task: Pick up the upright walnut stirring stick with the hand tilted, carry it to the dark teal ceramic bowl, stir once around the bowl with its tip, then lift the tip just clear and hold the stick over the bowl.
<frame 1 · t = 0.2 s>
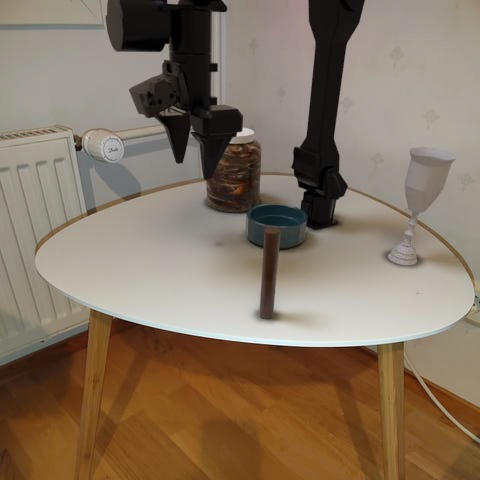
hand: (192, 171, 65), 14 cm above the table, tool pointing down, fingers open, 9 cm apart
jar: (232, 203, 94), on the table
bowl: (275, 237, 80), on the table
chalice: (402, 259, 75), on the table
stick: (266, 314, 60), on the table
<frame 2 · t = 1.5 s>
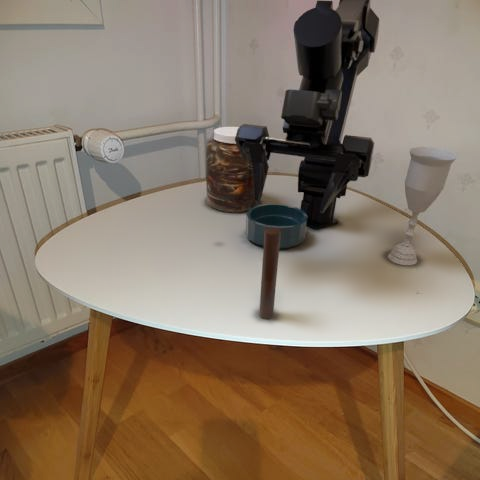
hand: (288, 206, 58), 13 cm above the table, tool tilted 45°, fingers open, 9 cm apart
nothing on the table moved.
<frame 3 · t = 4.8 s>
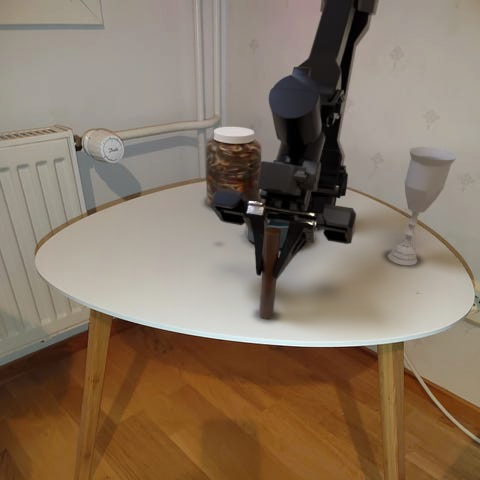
hand: (266, 276, 54), 7 cm above the table, tool tilted 45°, fingers closed on stick, 2 cm apart
stick: (266, 314, 60), on the table, touching gripper
everything else where it was.
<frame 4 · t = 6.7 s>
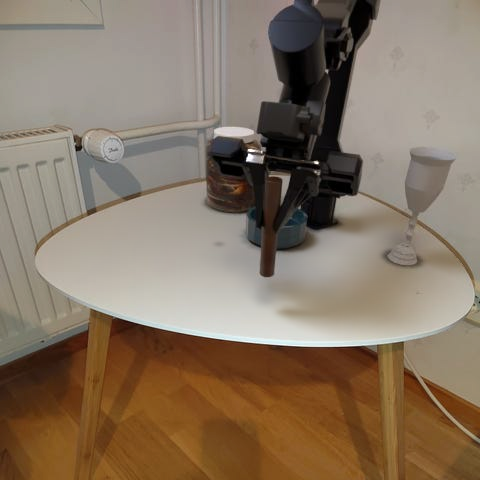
hand: (267, 230, 52), 13 cm above the table, tool tilted 45°, fingers closed on stick
stick: (266, 273, 57), point 6 cm above the table, touching gripper
everything else where it was.
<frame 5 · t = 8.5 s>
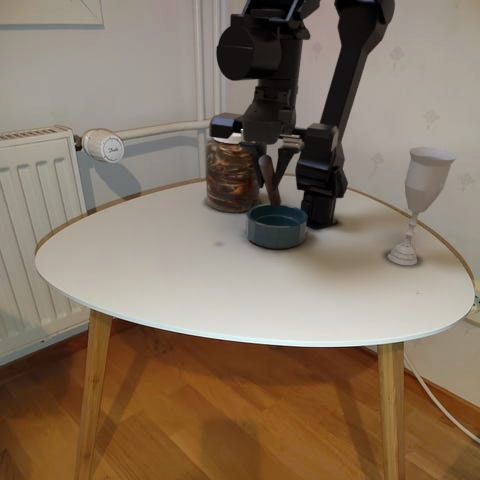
hand: (268, 188, 68), 12 cm above the table, tool pointing down, fingers closed on stick
stick: (275, 202, 75), point 7 cm above the table, tilted 43°, touching gripper
everything else where it was.
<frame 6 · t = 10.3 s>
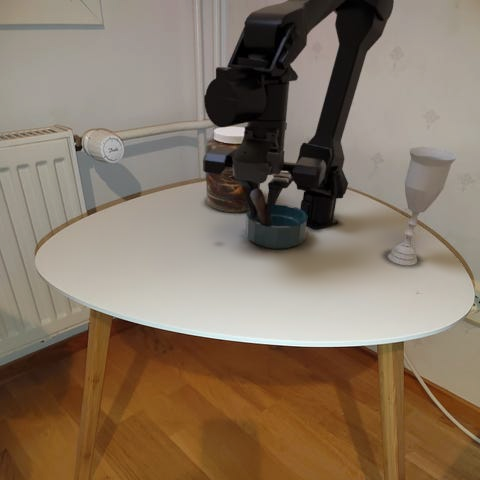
hand: (260, 217, 71), 7 cm above the table, tool pointing down, fingers closed on stick
stick: (269, 226, 78), point 3 cm above the table, tilted 45°, touching gripper
everything else where it was.
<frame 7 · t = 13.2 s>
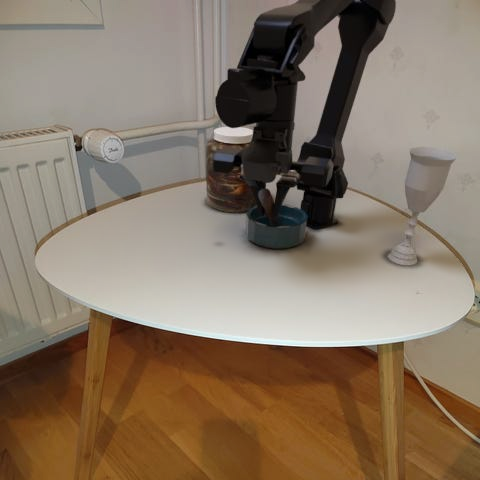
hand: (268, 216, 72), 6 cm above the table, tool pointing down, fingers closed on stick
stick: (276, 224, 79), point 3 cm above the table, tilted 47°, touching gripper
everything else where it was.
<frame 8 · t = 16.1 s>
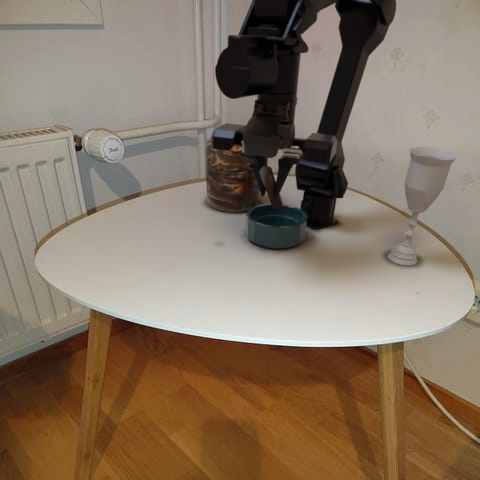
hand: (269, 196, 70), 10 cm above the table, tool pointing down, fingers closed on stick
stick: (277, 206, 77), point 6 cm above the table, tilted 47°, touching gripper
everything else where it was.
at the end: the gripper is holding stick; stick inside the target area on the bowl (0.1 cm from its centre), point 6.0 cm above the bowl's base; stick moved 26.5 cm from its start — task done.
